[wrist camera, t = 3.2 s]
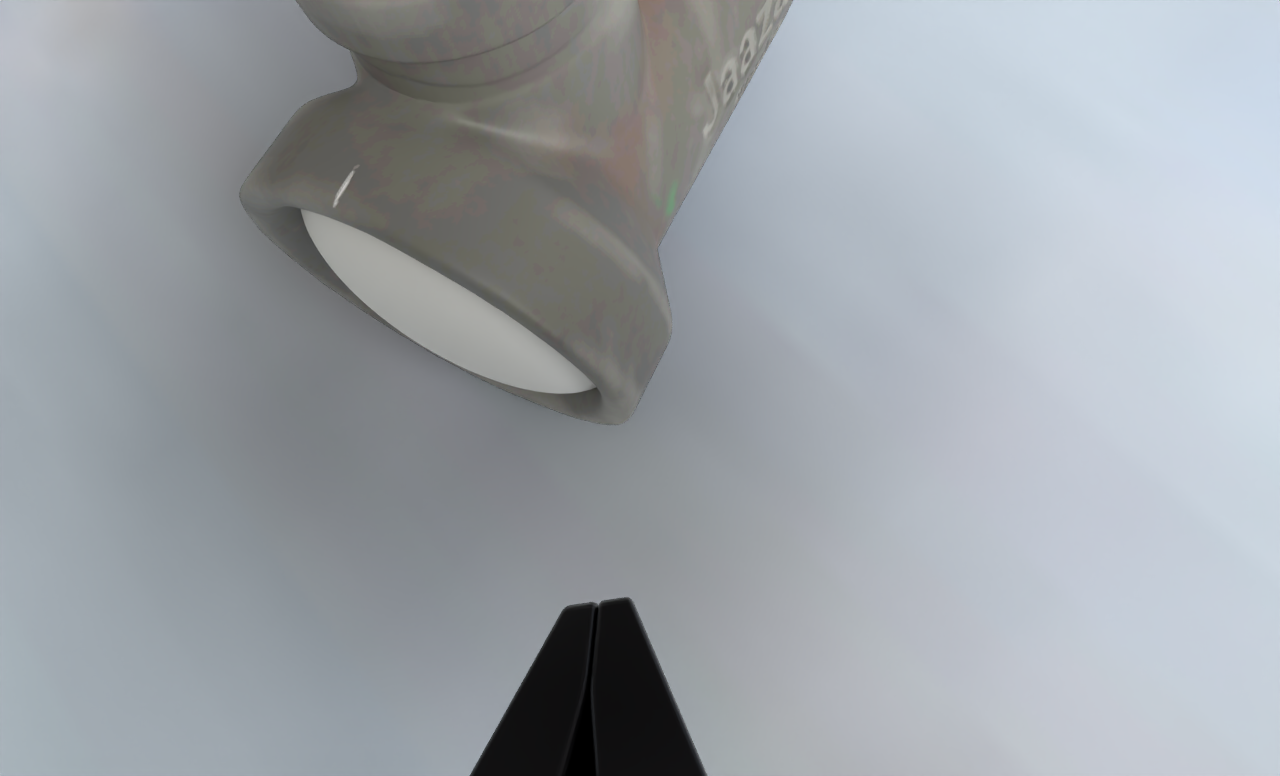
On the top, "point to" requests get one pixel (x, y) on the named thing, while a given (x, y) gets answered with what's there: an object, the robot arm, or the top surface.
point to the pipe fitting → (512, 177)
